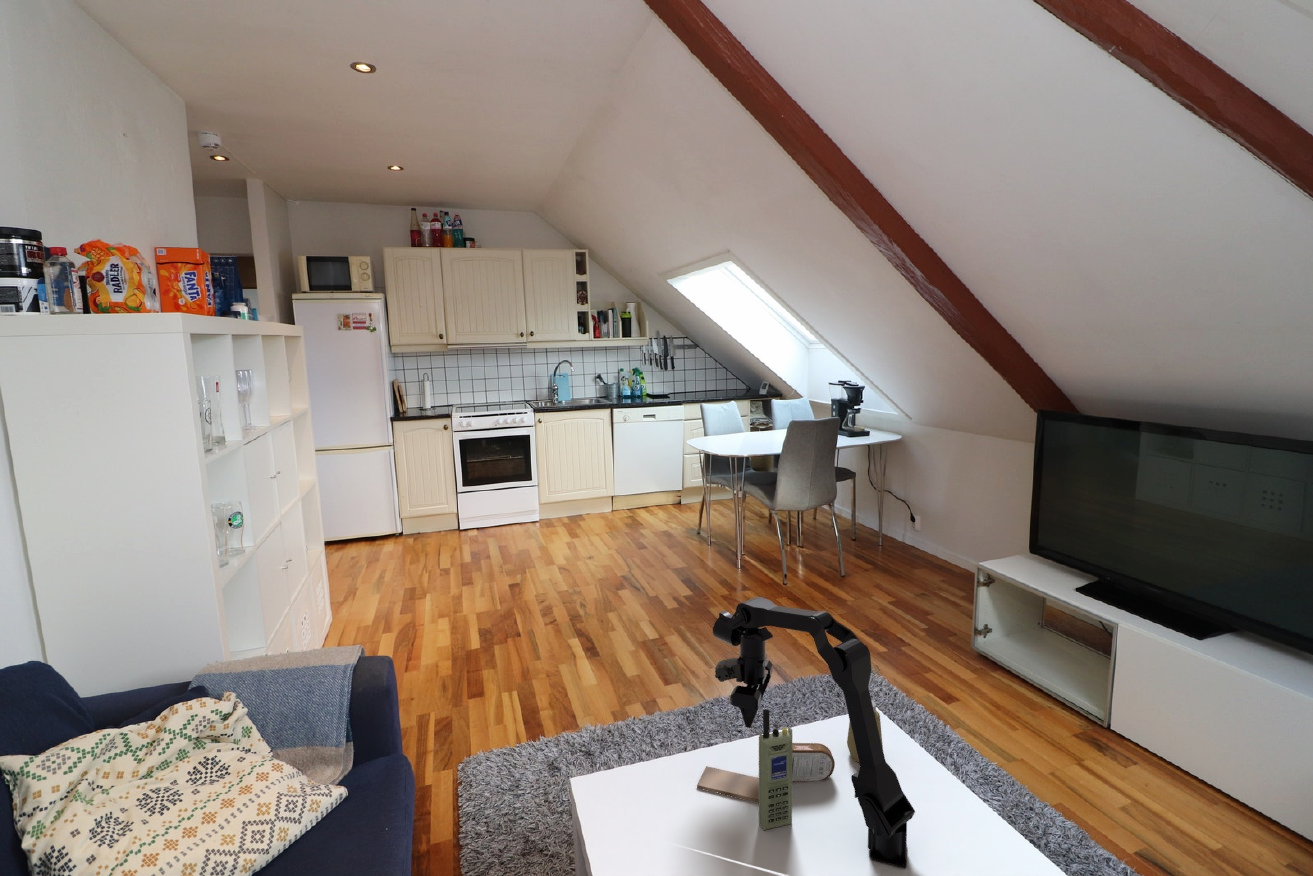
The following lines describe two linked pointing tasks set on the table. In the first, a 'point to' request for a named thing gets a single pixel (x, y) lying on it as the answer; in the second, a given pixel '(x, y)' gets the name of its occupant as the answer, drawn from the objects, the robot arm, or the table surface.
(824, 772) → the tin
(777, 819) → the handheld radio
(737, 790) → the walnut board
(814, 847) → the table surface
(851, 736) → the squeeze bottle
